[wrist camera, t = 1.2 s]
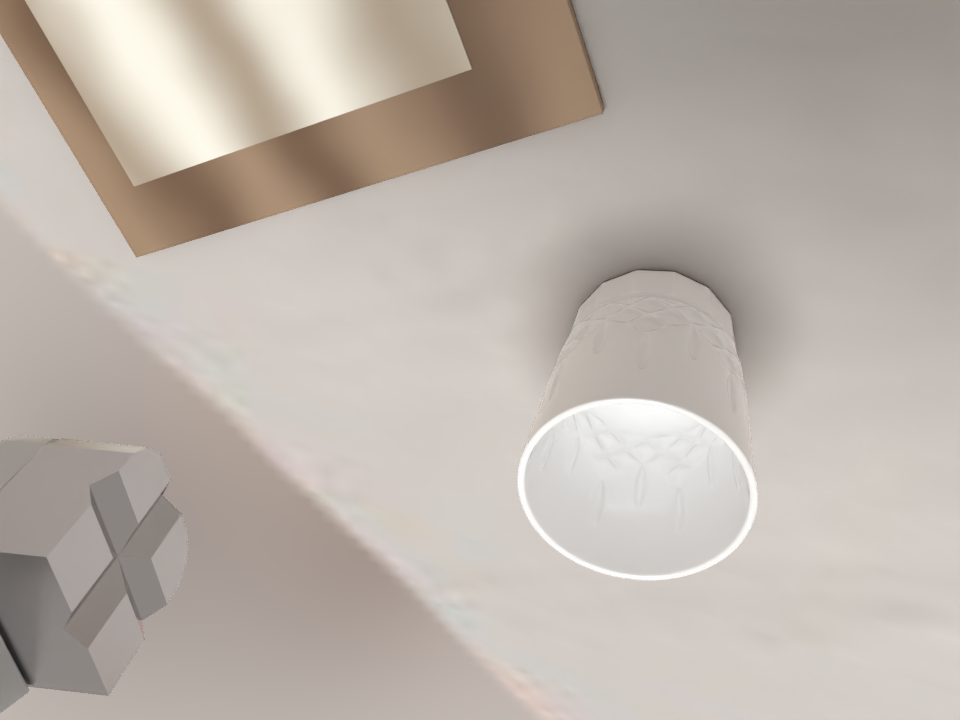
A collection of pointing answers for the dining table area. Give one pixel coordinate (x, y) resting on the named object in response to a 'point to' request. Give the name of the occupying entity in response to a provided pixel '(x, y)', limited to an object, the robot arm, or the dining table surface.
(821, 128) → the dining table surface
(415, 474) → the dining table surface
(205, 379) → the dining table surface
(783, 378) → the dining table surface
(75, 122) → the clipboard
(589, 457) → the white cup
